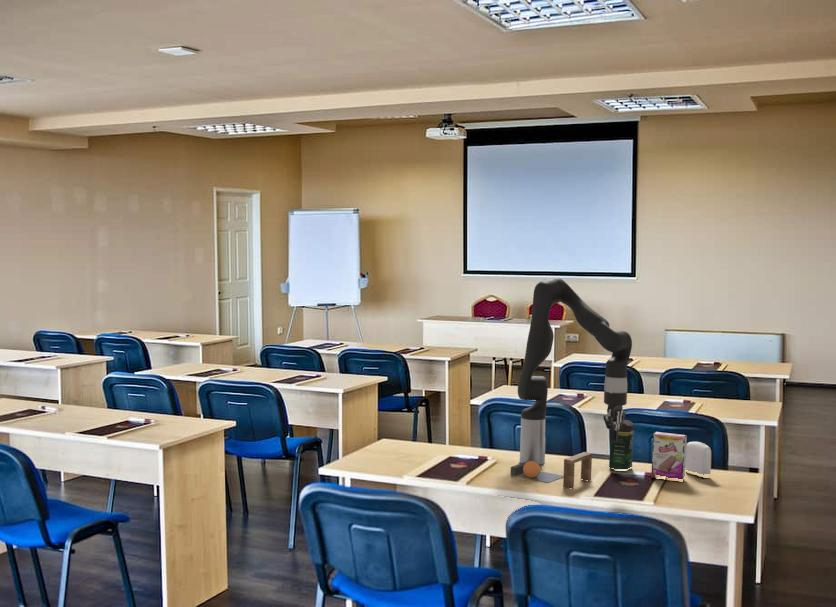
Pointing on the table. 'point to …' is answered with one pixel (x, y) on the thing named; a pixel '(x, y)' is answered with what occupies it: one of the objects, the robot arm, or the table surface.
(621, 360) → the robot arm
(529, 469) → the ball
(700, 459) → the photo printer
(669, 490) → the table surface
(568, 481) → the bridge
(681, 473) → the candy bar box
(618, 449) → the coffee jar
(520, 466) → the stopper bar
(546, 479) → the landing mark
